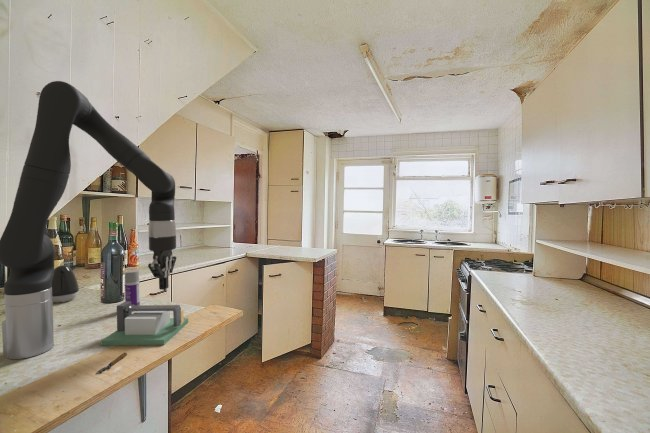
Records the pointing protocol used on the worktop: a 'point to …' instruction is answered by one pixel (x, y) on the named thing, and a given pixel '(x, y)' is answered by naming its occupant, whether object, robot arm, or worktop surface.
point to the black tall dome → (64, 284)
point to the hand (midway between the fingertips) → (163, 288)
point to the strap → (174, 308)
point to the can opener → (113, 362)
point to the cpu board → (144, 338)
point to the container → (132, 287)
